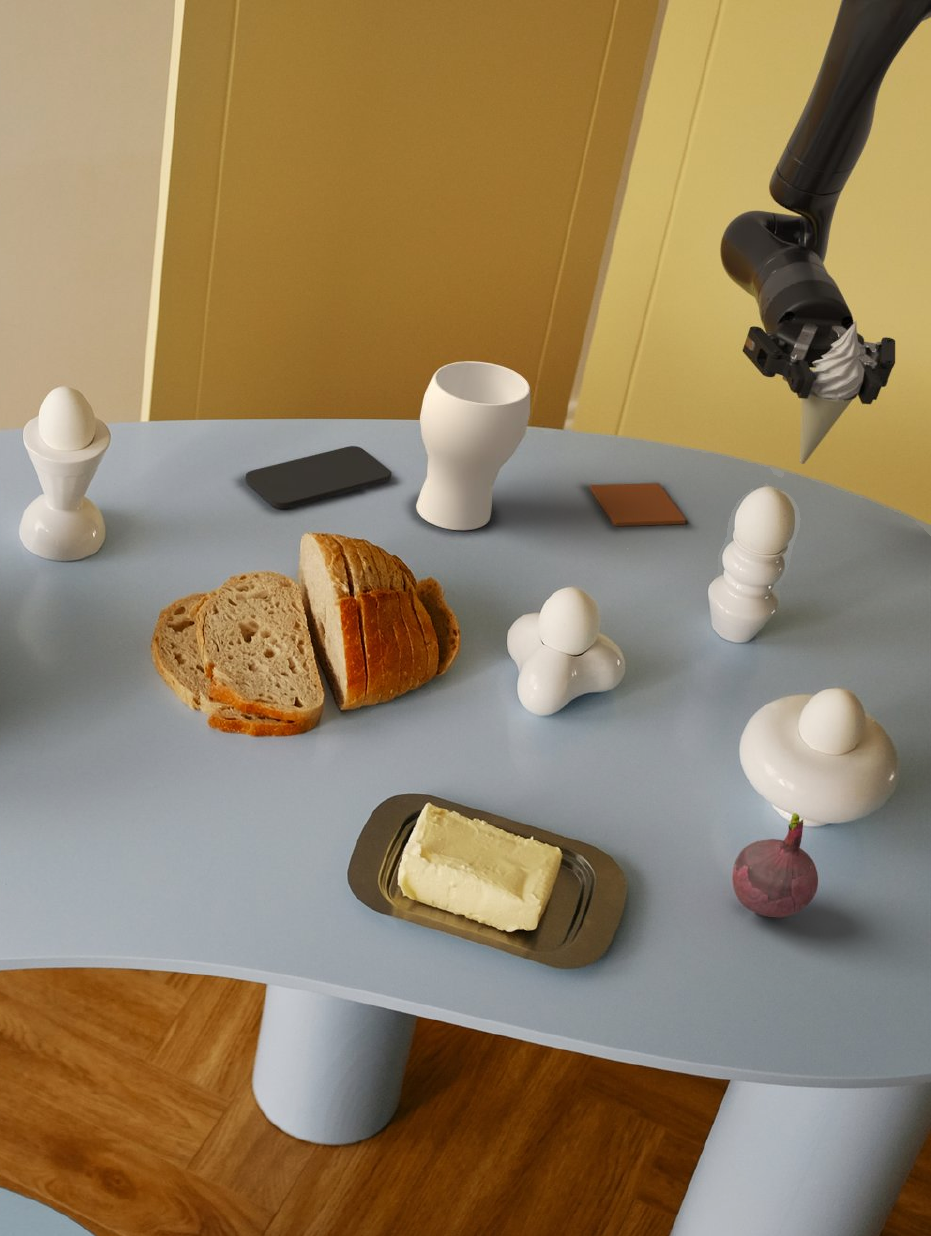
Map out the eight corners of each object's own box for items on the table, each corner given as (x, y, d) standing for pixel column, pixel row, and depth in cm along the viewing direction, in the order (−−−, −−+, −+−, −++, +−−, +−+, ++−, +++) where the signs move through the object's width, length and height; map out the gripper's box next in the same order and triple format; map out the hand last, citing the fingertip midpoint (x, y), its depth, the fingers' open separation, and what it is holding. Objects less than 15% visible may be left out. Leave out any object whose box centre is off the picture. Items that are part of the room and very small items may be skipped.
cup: (402, 533, 171) (428, 402, 162) (401, 481, 179) (426, 354, 170) (507, 543, 170) (539, 412, 160) (501, 491, 178) (532, 363, 168)
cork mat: (657, 487, 179) (658, 483, 179) (685, 524, 173) (686, 520, 173) (589, 489, 178) (590, 485, 178) (614, 526, 173) (616, 522, 172)
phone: (241, 472, 179) (357, 443, 184) (240, 479, 179) (355, 450, 184) (278, 505, 174) (396, 474, 178) (277, 512, 174) (395, 481, 179)
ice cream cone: (824, 481, 159) (878, 338, 150) (769, 466, 161) (820, 324, 152) (834, 458, 163) (888, 317, 153) (780, 444, 165) (831, 304, 155)
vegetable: (800, 896, 130) (843, 802, 124) (800, 949, 126) (845, 855, 120) (720, 877, 132) (758, 783, 126) (716, 928, 128) (756, 834, 121)
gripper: (740, 272, 165) (771, 349, 153) (891, 284, 164) (935, 363, 151) (718, 341, 170) (747, 421, 157) (864, 353, 168) (905, 435, 156)
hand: (838, 392), depth 154 cm, fingers closed on ice cream cone, 5 cm apart
